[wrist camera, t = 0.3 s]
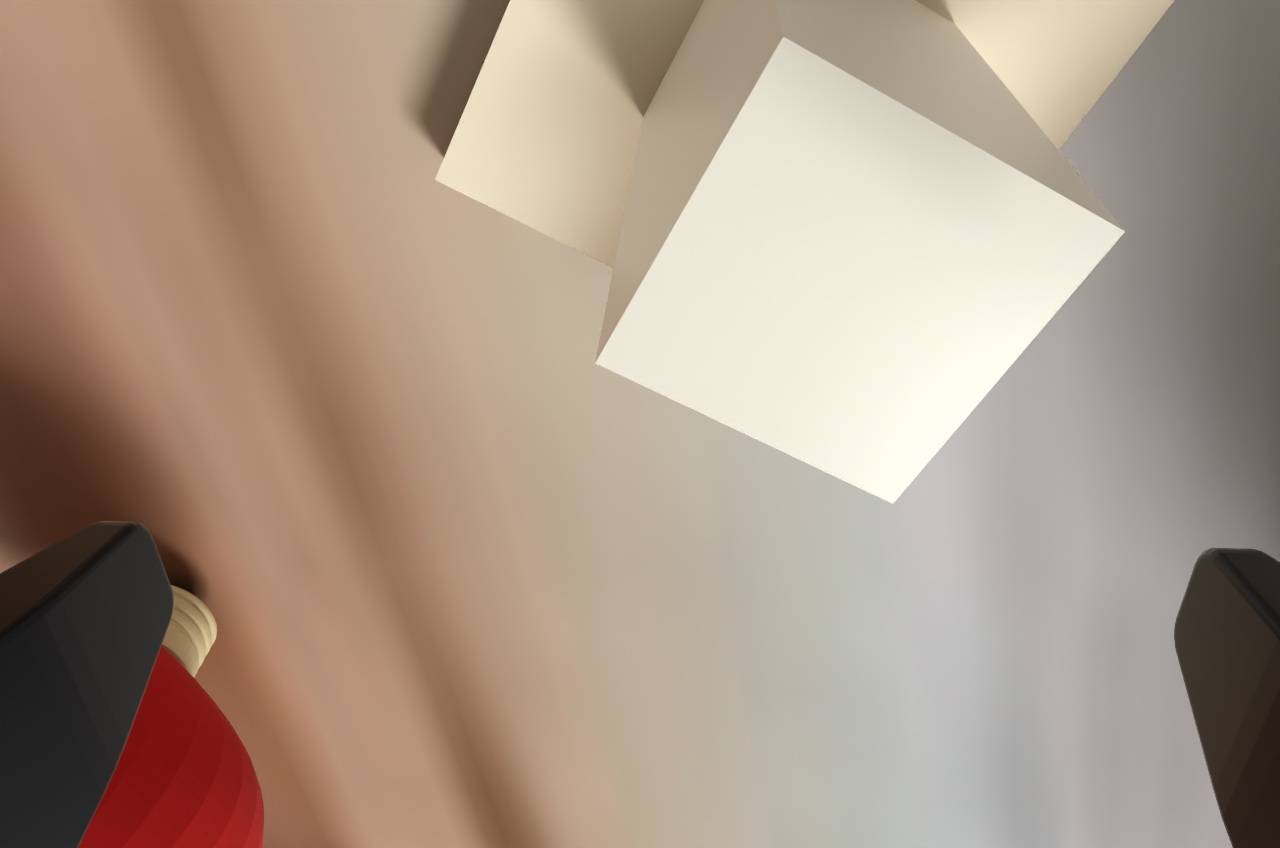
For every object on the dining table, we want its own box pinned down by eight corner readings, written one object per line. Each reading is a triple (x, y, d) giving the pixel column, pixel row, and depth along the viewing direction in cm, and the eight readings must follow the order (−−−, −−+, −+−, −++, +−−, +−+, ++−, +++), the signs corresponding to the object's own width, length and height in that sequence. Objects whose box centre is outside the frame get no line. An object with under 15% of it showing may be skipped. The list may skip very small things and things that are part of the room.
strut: (954, 23, 18) (1124, 230, 10) (827, 215, 20) (892, 503, 12) (754, -96, 17) (782, 36, 10) (643, 117, 19) (595, 362, 12)
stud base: (1194, -66, 18) (1351, -1, 13) (863, 370, 23) (898, 522, 19) (682, -402, 16) (670, -456, 11) (446, 161, 21) (373, 276, 16)
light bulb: (2, 630, 29) (-280, 983, 21) (10, 444, 26) (-329, 785, 17) (322, 724, 31) (176, 1089, 22) (374, 562, 27) (222, 929, 19)
